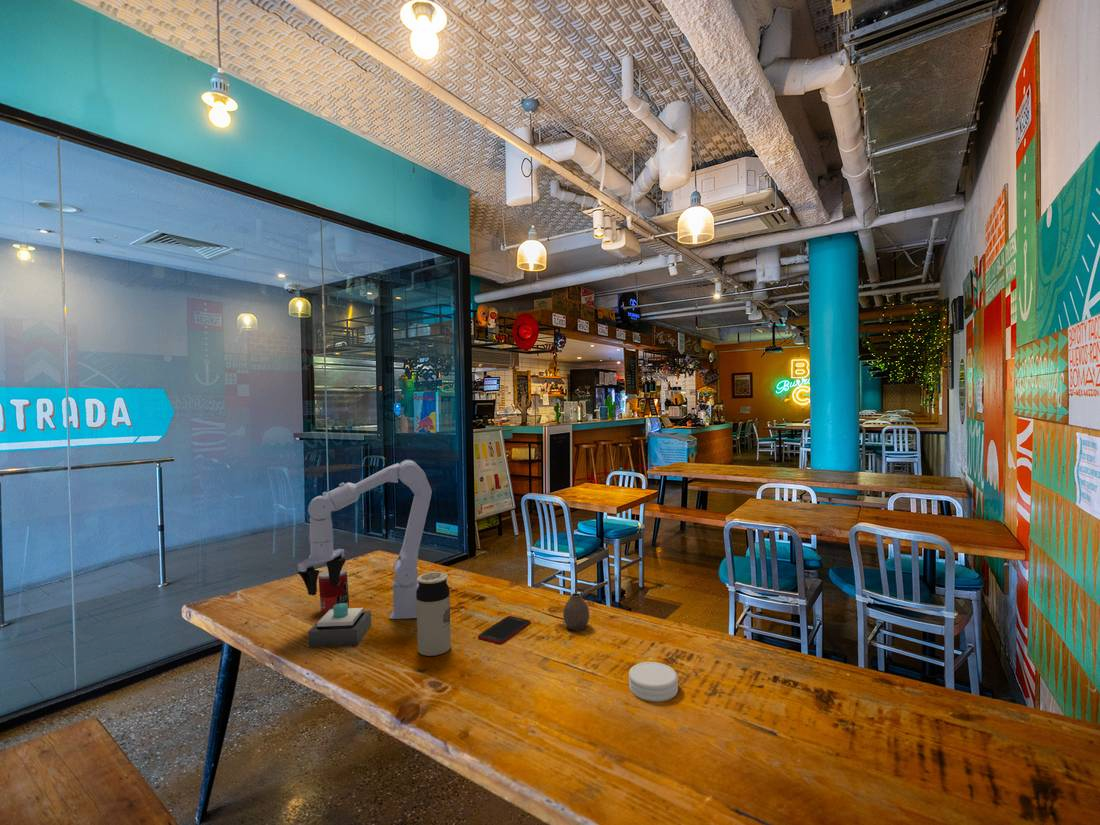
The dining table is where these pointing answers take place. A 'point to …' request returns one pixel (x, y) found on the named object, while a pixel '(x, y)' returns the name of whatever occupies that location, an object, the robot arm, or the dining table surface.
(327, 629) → the press housing
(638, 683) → the coaster
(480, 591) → the dining table surface
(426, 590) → the travel mug
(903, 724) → the dining table surface
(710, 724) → the dining table surface
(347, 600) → the canned food
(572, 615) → the vase
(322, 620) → the plunger
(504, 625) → the cell phone
